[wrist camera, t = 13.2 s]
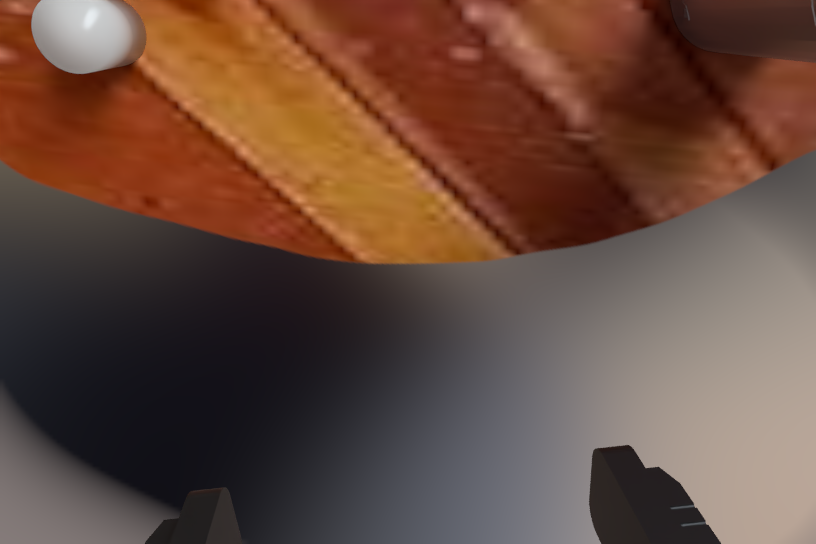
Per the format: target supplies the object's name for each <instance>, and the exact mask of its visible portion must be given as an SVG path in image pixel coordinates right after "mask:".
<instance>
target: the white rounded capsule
mask: <svg viewBox="0 0 816 544" xmlns="http://www.w3.org/2000/svg"><path fill="white" fill-rule="evenodd" d="M32 33H33V37H34V40H35V43H36V45H37V47H38V48H39V50H40V51H41V53H42V54H43V55H44V57H45V58H46V59H47V60H48V61H50V62H51V63H52V64H53V65H55V66H56V67H58V68H60V69H62V70H64V71H67V72H70V73H75V74H86V73H91V72H96V71H101V70H106V69H111V68H116V67H121V66H126V65H129V64H131V63H133V62H135V61H136V60H137V59H138V58H139V57H140V56H141V55H142V53H143V51H144V49H145V45H146V30H145V26H144V23H143V21H142V19H141V17H140V16H139V14H138V13H137V11H136V10H135V9H134V8H133V7H132V6H131V5H129V4H128V3H127V2H125V1H123V0H41V1H40V2H39V3H38V5H37V6H36V8H35V10H34V12H33V16H32Z"/></svg>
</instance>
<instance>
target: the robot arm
mask: <svg viewBox="0 0 816 544" xmlns="http://www.w3.org/2000/svg"><path fill="white" fill-rule="evenodd" d="M670 4H671V9H672V14H673V18H674V20H675V22H676V25H677V27H678V29H679V30H680V32H681V33H682V34H683V36H684V37H685V38H686V39H687V40H688V41H690V42H691V43H692V44H693V45H695V46H696V47H699V48H701V49H704V50H706V51H711V52H718V53H728V54H737V55H744V56H754V57H764V58H774V59H784V60H794V61H804V62H814V63H816V0H670ZM589 505H590V513H591V518H592V522H593V525H594V528H595V531H596V533H597V535H598V537H599V540H600V542H601V544H721V543H720V541H719V540H718V538H717V537H716V535H715V534H714V532H713V531H712V530H711V528H710V527H709V525H706V523H705V520H704V518H703V516H702V515H701V513H700V512H699V511H698V509H697V508H695V507H694V503H693V502H692V500H691V499H690V497H689V496H688V494H687V493H686V492H685V490H684V489H683V487H682V486H681V484H680V483H679V482H678V481H676V480H675V479H674V478H672V477H671V476H670V475H669V474H667V473H666V472H665V471H663V470H662V469H661V468H659V467H655V468H645V467H644V465H643V463H642V462H641V460H640V459H639V457H638V455H637V454H636V452H635V451H634V449H633V448H632V447H631V446H629V445H625V446H616V447H607V448H597V449H595V450H594V451H593V456H592V469H591V484H590V498H589ZM145 544H242V540H241V536H240V532H239V528H238V524H237V521H236V516H235V513H234V509H233V505H232V501H231V497H230V494H229V491H228V489H227V488H217V489H208V490H198V491H191V492H190V493H189V494H188V495H187V498H186V500H185V503H184V506H183V508H182V511H181V514H180V517H179V518H178V519H169V520H164V521H163V522H162V523H161V524H160V526H159V527H158V528H157V529H156V530H155V531H154V533H153V534H152V535H151V536H150V537H149V538H148V540H147V541H146V542H145Z"/></svg>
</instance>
